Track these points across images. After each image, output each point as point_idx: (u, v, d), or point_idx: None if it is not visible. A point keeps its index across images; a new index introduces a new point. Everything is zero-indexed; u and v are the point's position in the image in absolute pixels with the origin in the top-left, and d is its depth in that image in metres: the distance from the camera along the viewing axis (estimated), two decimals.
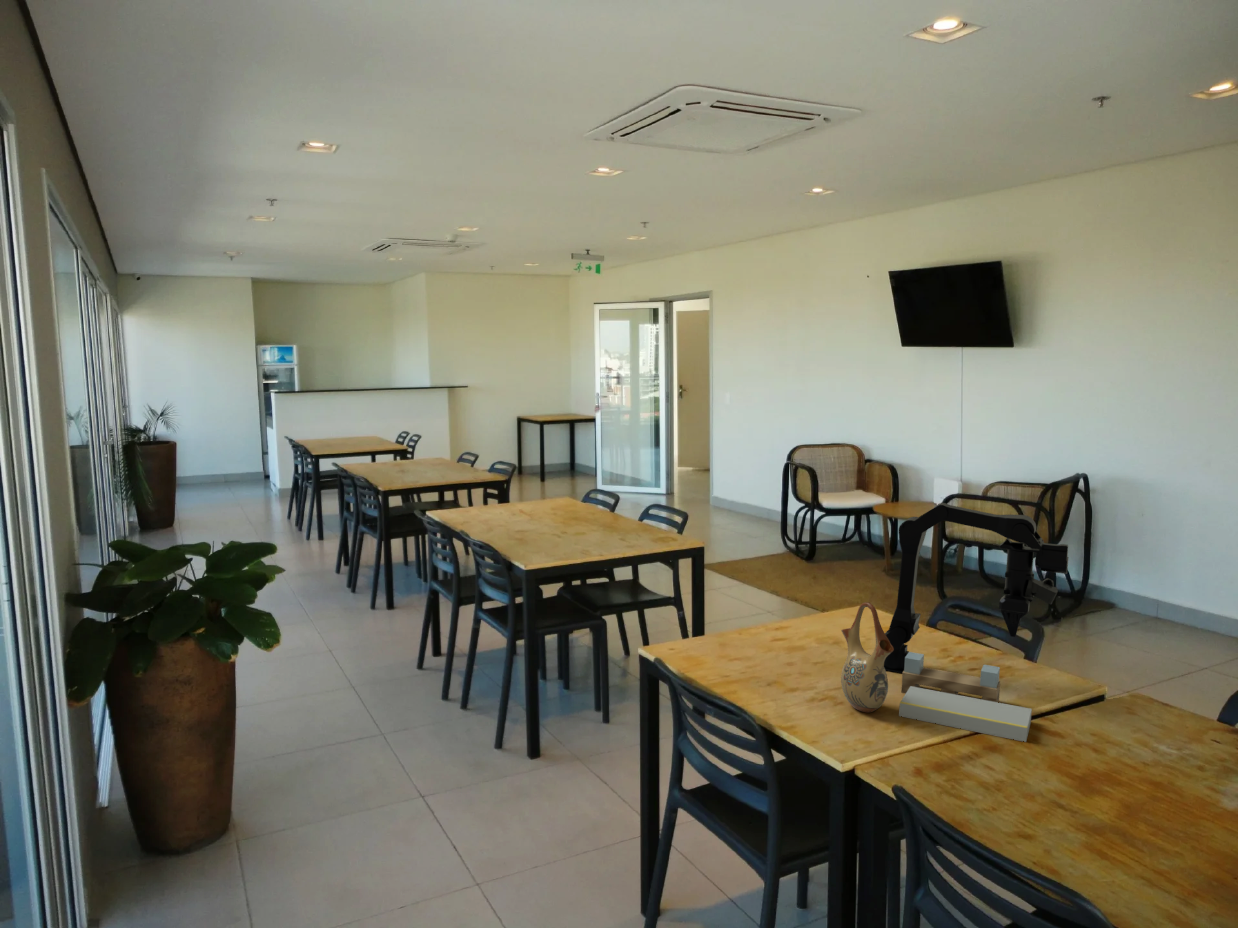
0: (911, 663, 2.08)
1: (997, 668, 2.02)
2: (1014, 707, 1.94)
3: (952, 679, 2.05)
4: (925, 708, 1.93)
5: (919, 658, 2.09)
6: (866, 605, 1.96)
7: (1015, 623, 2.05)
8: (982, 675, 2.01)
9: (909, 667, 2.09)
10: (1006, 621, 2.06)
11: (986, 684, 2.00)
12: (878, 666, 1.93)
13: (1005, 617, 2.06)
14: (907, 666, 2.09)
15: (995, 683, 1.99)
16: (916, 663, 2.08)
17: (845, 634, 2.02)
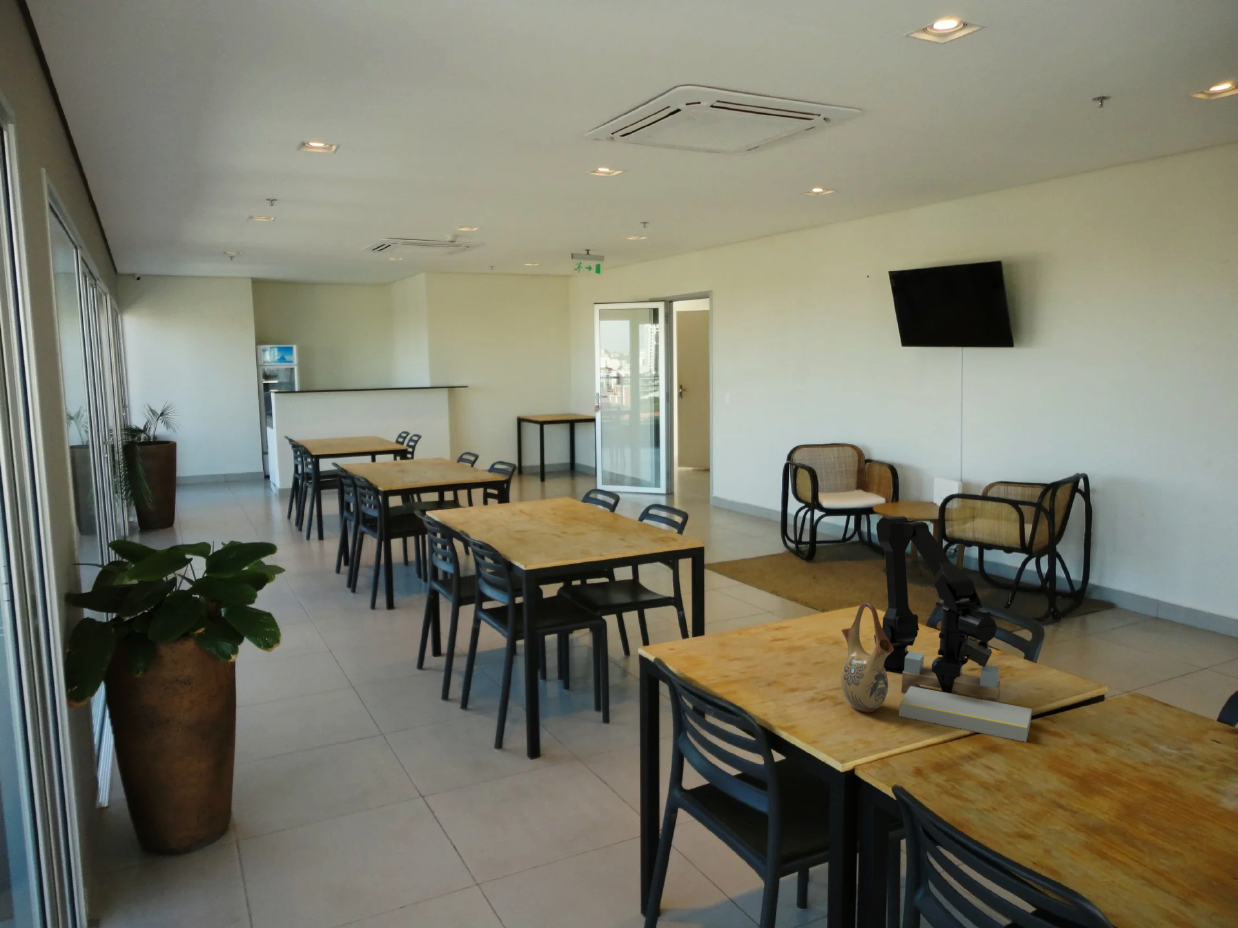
0: (911, 663, 2.08)
1: (997, 668, 2.02)
2: (1014, 707, 1.94)
3: None
4: (925, 708, 1.93)
5: (919, 658, 2.09)
6: (866, 605, 1.96)
7: (949, 684, 2.02)
8: (982, 675, 2.01)
9: (909, 667, 2.09)
10: (940, 682, 2.03)
11: (986, 684, 2.00)
12: (878, 666, 1.93)
13: (939, 678, 2.03)
14: (907, 666, 2.09)
15: (995, 683, 1.99)
16: (916, 663, 2.08)
17: (845, 634, 2.02)
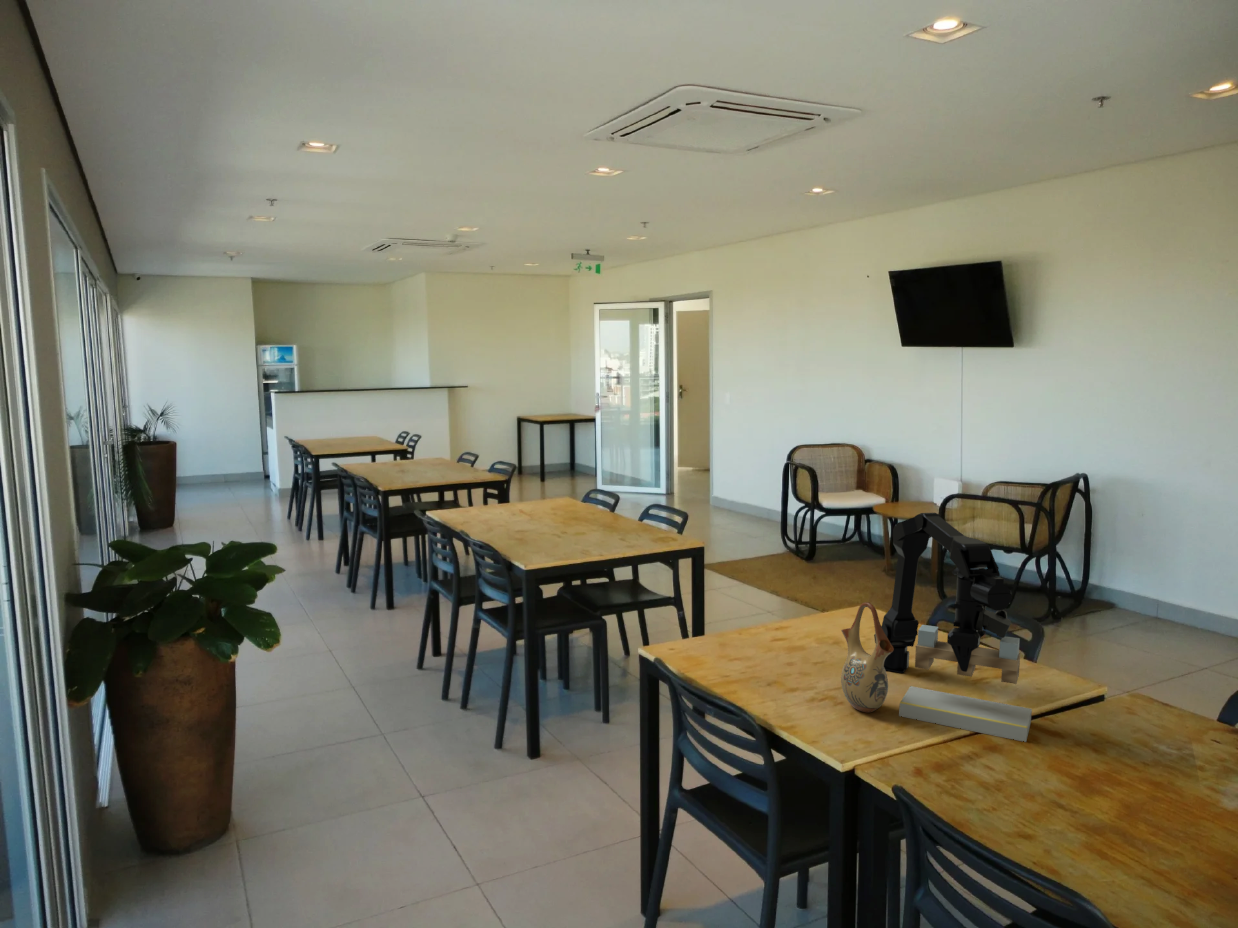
0: (924, 636, 1.96)
1: (1017, 639, 1.90)
2: (1014, 707, 1.94)
3: None
4: (925, 708, 1.93)
5: (933, 630, 1.96)
6: (866, 605, 1.96)
7: (966, 657, 1.90)
8: (1001, 646, 1.88)
9: (922, 640, 1.96)
10: (956, 655, 1.91)
11: (1006, 656, 1.88)
12: (878, 666, 1.93)
13: (955, 650, 1.91)
14: (921, 639, 1.97)
15: (1015, 654, 1.87)
16: (930, 635, 1.95)
17: (845, 634, 2.02)
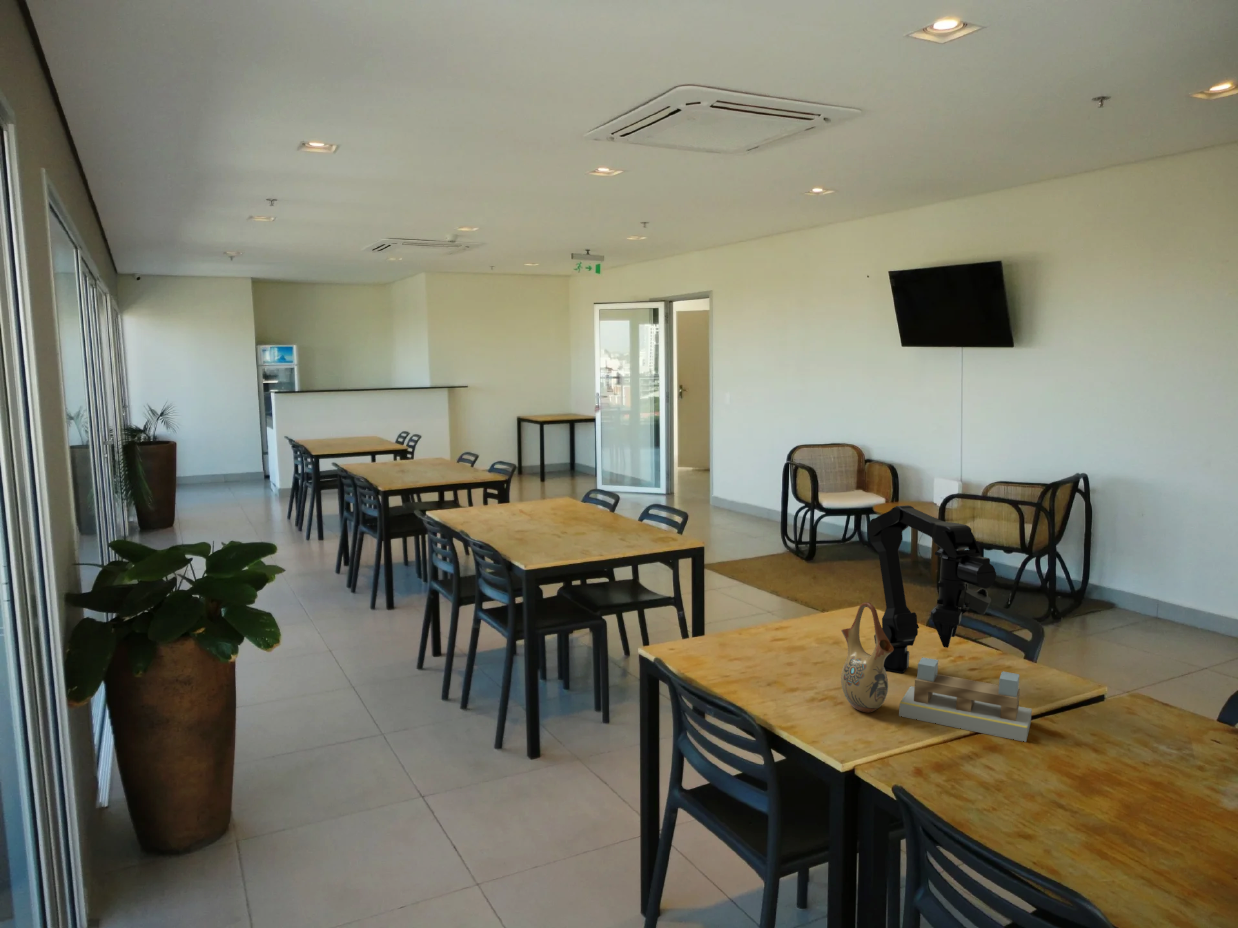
0: (924, 669, 1.96)
1: (1017, 675, 1.89)
2: None
3: (968, 687, 1.92)
4: (925, 708, 1.93)
5: (933, 664, 1.96)
6: (866, 605, 1.96)
7: (947, 634, 2.01)
8: (1001, 683, 1.88)
9: (922, 674, 1.96)
10: (938, 632, 2.02)
11: (1005, 692, 1.87)
12: (878, 666, 1.93)
13: (937, 628, 2.02)
14: (920, 673, 1.96)
15: (1015, 691, 1.86)
16: (930, 669, 1.95)
17: (845, 634, 2.02)
